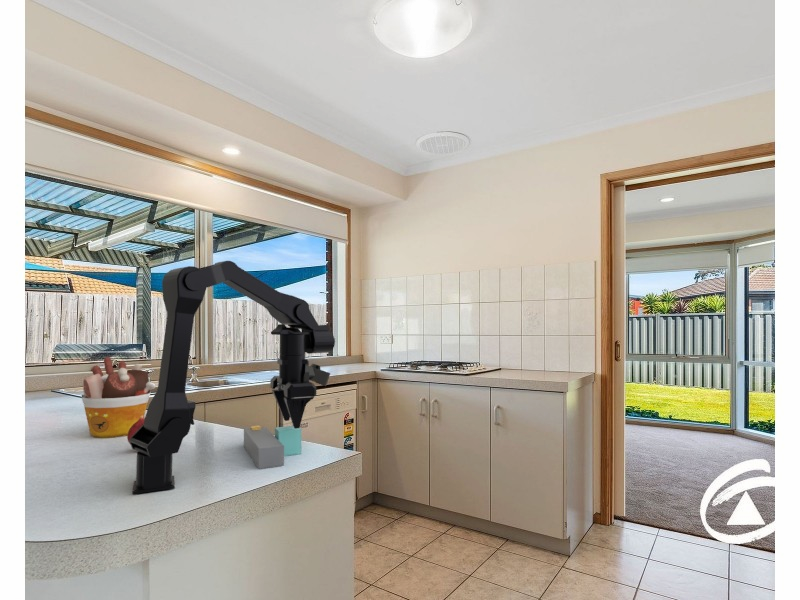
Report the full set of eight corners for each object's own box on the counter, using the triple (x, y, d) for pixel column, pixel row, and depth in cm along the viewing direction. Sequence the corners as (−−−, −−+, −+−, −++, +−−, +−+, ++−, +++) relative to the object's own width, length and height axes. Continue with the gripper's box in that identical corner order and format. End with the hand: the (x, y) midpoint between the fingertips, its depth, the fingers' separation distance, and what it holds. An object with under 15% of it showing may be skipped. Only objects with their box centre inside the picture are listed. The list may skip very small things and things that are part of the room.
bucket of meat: (161, 433, 125) (163, 358, 126) (88, 445, 113) (91, 361, 114) (137, 422, 139) (139, 354, 140) (70, 432, 127) (72, 357, 128)
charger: (301, 453, 105) (301, 428, 105) (268, 458, 102) (268, 432, 102) (296, 449, 109) (296, 425, 109) (265, 453, 105) (265, 428, 106)
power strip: (284, 465, 96) (284, 442, 97) (258, 469, 94) (259, 445, 94) (262, 439, 118) (262, 420, 119) (240, 441, 116) (241, 422, 116)
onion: (159, 451, 108) (160, 415, 108) (132, 456, 104) (133, 419, 104) (150, 446, 112) (151, 412, 112) (123, 451, 108) (124, 415, 108)
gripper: (339, 356, 102) (339, 428, 102) (315, 351, 119) (314, 414, 118) (288, 357, 98) (287, 434, 97) (270, 352, 114) (269, 418, 113)
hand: (291, 424), depth 106 cm, fingers open, 9 cm apart
